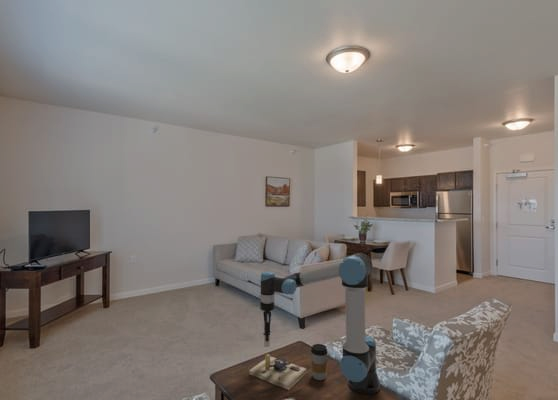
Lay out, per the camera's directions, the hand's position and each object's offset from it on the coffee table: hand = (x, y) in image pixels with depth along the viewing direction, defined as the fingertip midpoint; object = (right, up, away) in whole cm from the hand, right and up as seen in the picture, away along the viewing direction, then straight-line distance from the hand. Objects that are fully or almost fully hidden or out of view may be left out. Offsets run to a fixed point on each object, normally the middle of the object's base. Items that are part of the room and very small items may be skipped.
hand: (266, 346), depth 156 cm
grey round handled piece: (+6, -10, -2) cm, 12 cm away
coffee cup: (+27, -13, -6) cm, 31 cm away
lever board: (+6, -13, -3) cm, 14 cm away
